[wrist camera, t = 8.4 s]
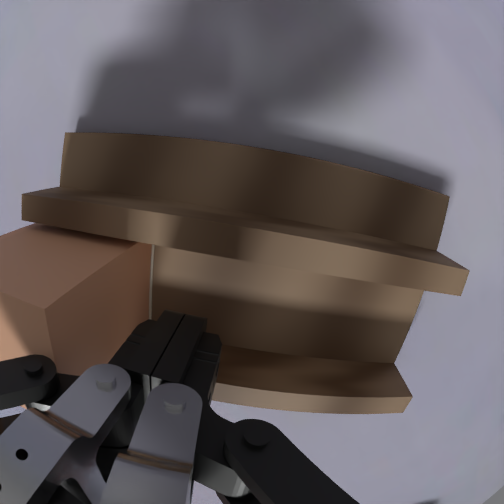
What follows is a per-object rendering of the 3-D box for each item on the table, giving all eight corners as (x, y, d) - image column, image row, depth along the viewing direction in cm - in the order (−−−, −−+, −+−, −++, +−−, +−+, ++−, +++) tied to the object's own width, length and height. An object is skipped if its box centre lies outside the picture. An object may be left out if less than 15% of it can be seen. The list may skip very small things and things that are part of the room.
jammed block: (152, 232, 13) (44, 309, 6) (148, 324, 15) (78, 435, 7) (55, 216, 13) (-60, 261, 6) (59, 299, 15) (-28, 373, 7)
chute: (440, 194, 13) (486, 206, 9) (365, 401, 17) (381, 444, 13) (74, 133, 13) (27, 130, 9) (77, 350, 17) (48, 384, 13)
